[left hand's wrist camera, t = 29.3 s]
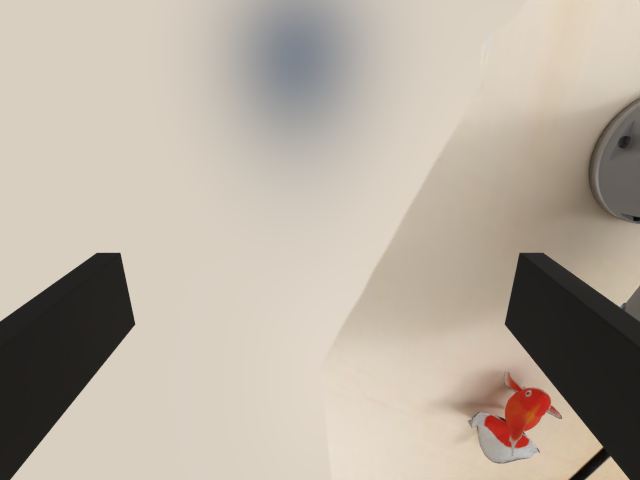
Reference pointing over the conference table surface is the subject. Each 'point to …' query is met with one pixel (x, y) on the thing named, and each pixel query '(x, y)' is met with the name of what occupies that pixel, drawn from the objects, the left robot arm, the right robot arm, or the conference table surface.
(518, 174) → the conference table surface
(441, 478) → the conference table surface
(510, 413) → the fish
